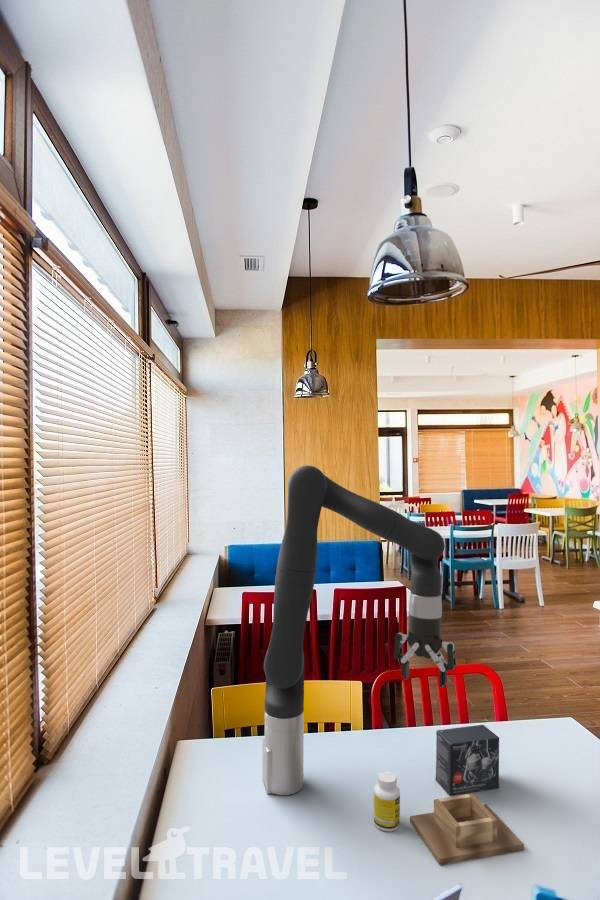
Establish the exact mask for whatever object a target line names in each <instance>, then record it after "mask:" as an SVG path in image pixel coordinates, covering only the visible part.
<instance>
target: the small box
mask: <svg viewBox="0 0 600 900" xmlns="http://www.w3.org/2000/svg"><path fill="white" fill-rule="evenodd" d="M435 734H436V744H435V745H436V749H435V752H436V756H435V757H436V759H435V777H434V778H435V779H434V780H435V781H436V782H437V784H439V786H440V787H441V788H442V789H443V791H445V792H446V793H447V794H448V795H449V797H453V796H460V795H466V794H473V793H476V792H477V793H478V792H483V791H488V790H495V789H499V787H500V781H499V780H500V737H499V736H498V735H497V734H496V733H495V732H493V731H492V730H490V729H489V728H488V727H487V726H485V725H484V724H478V725H469V726H461V727H453V728H446V729H439V730H437V729H436V731H435Z"/></svg>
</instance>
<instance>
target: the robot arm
mask: <svg viewBox="0 0 600 900" xmlns="http://www.w3.org/2000/svg"><path fill="white" fill-rule="evenodd" d="M322 508H325V509H327V510H330V511H332V512H334V513H336V514H338V515H340V516H342V517H344V518H346V519H348V520H350V522H351V523H355V525H357V526H359V527H361V528H362V529H364V530H366V531H368V532H370V533H372V534H374V535H375V536H377V537H380V538H381V539H383V540H386V541H388V542H390V543H393V544H396V545H397V546H399V547H400V548H403V549H404V550H406V551H408V552H409V559H410V560H409V561H410V569H411V573H410V574H411V575H410V595H409V596H410V597H409V600H408V601H409V602H408V634H405V633H403V631H399V632H398V633H396V634H395V636H394V647H393V648H394V650H393V658H394V659H395V660H399V661H400V663H401V667H400V668H401V669H400V673H401V676H402V677H403V680H408V679H409V678H410V661H409V660H410V658H411V657H413V655H416V657H423V658H425V659H431V660H432V661H433V662H434V663H435V664H436V665H437V668H439V671H438V687H439V688H443V687H444V686H446V685H447V682H448V671H453V670H454V669H455V668H456V667H457V661H456V660H457V658H456V657H457V656H456V643H455V642H454V641H450V642H448V641H443V639H442V614H443V606H442V604H443V603H442V575H441V572H440V570H439V566H438V565H439V558H440V557H441V556H442V555H443V553H444V551H445V547H446V546H445V540H444V538H443V537H442V535H441V534H440V533H438V531H436V530H434V529H432V528H431V527H427V526H424V525H422V524H419V523H418V522H415V521H413V520H410V518H408V517H406V516H404V515H403V514H401V513H400V512H397V511H395V510H394V509H391V508H389V507H387V506H385V505H383V504H381V503H378V502H376V501H374V500H371V499H369V498H368V497H364V496H362V495H360V494H357V493H355V492H354V491H353V492H352V491H351V490H349V489H347V488H346V487H343V486H341V485H340V484H338V483H336V482H335V481H333V480H332V479H331V478H329V477H328V476H326V475H325V474H324V473H323V471H322V470H320V469H319V468H317V467H316V466H313V465H301V466H299V467H297V468H296V469H294V470H293V471H292V473H291V474H290V475H289V477H288V481H287V512H286V513H287V515H286V524H285V528H284V534H283V536H282V539H281V544H280V548H279V551H278V552H279V553H278V558H277V564H276V571H275V578H274V579H275V580H274V590H273V591H274V593H273V620H272V621H273V623H272V629H271V634H270V639H269V643H268V648H267V650H266V652H265V653H266V654H265V657H264V661H263V670H264V671H263V672H264V673H265V692H264V693H265V694H264V738H263V739H262V782H263V786H264V788H265V792H266V794H267V795H268V794H274V795H276V796H277V795H278V796H289V795H293V794H296V793H298V792H299V791H301V790H302V788H303V787H304V778H305V776H304V775H305V774H304V770H305V769H304V766H305V765H304V760H305V759H304V752H305V751H304V748H305V747H304V739H305V738H304V737H305V736H304V734H305V733H304V731H305V729H304V723H305V721H304V719H305V715H304V714H305V713H304V712H305V711H304V707H305V706H304V705H305V703H304V702H305V655H304V654H305V653H304V636H305V635H304V633H305V626H306V622H307V618H308V614H309V611H310V606H311V603H312V597H313V592H314V587H315V580H316V574H317V573H316V571H317V562H318V561H317V559H318V528H319V522H320V516H321V513H322V512H321V511H322ZM405 642H407V644H408V646H409V649H408V651H407V652H405V654H404V653H403V647H404V645H403V644H404V643H405ZM442 648H443V649H444V651H445V653H447V661H446V660H445V658H444V655H443V654H442V652H441V651H440V650H441V649H442Z"/></svg>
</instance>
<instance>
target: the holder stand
mask: <svg viewBox="0 0 600 900" xmlns="http://www.w3.org/2000/svg"><path fill="white" fill-rule="evenodd" d="M409 822H410V825H411V826H412V827H413V829H414V830H415V832H416V833H417V835H418V836H419V838H420V839H421V840H422V842H423V844H424V845H425V847H426V848H427V849H428V850H429V852H430V853H431V855H432V857H433V858H434V860H435V861H436V862H437V864H438V866H444V865H449V864H451V865H452V864H455V863H461V862H466V861H471V860H478V859H482V858H487V857H489V858H490V857H493V856H499V855H505V854H509V853H510V854H511V853H514V852H515V853H516V852H520V851H524V847H525V845H524V842H523V841H521V839H520V838H519V837H518V836H517V835H516V834H515V833H514V832H513V831H512V830H511V829H510V828H509V827H508V826H507V824H506V823H505V822H504V821H503V820H502V819H501V818H500V817H499V816H498V815H497V813H495V812H494V810H492V809H491V808H490V806H489V805H488V804H486V803H484V804H483V803H482V802H481V801H480V800H479V799H478V797H476V796H475V794H474V793H466V794H460V795H454V796H448V797H440V798H436V799H435V798H434V799H433V812H427V813H421V814H416V815H410V816H409Z"/></svg>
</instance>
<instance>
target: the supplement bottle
mask: <svg viewBox="0 0 600 900" xmlns="http://www.w3.org/2000/svg"><path fill="white" fill-rule="evenodd" d="M397 778H398V777H397V775H396V774H395V773H393V772H390V771H382V772H379V773H378V774H377V780H376V781H377V783H376V784H375V785H374V788H373V824H374V826H375V827H376V828H377V829H378V830H380V831H384V832H395V831H396V830H398V829H399V827H400V822H401V817H400V815H401V792H400V788H399V787H398V786H397V783H398V782H397Z"/></svg>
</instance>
